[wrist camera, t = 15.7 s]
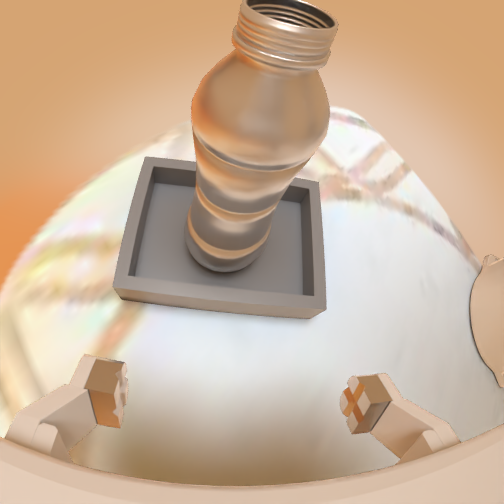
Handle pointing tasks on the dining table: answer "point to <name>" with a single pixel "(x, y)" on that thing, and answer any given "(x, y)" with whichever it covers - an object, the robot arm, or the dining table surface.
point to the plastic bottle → (256, 127)
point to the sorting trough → (213, 282)
